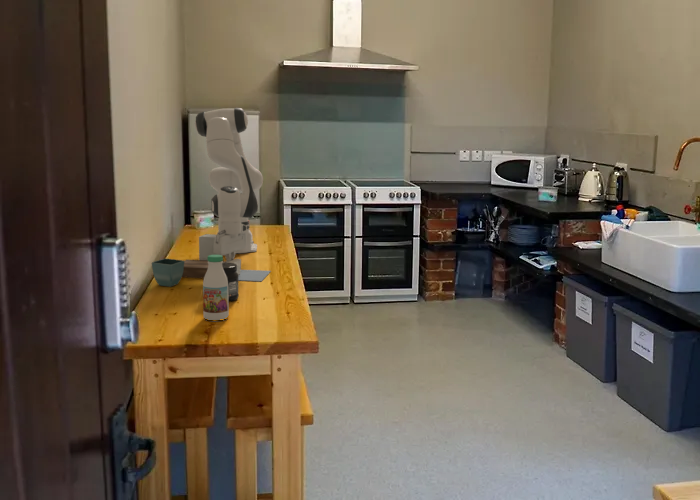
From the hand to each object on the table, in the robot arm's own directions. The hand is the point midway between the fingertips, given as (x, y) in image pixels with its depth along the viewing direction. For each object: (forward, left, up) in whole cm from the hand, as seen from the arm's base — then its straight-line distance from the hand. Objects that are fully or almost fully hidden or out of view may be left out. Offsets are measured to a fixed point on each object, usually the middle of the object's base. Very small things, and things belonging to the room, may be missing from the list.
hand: (230, 263), depth 271 cm
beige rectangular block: (+3, +1, -1) cm, 3 cm away
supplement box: (-17, -13, -5) cm, 22 cm away
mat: (0, +7, -5) cm, 8 cm away
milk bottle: (+59, +11, -5) cm, 60 cm away
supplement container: (+36, +7, -5) cm, 37 cm away
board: (0, -11, -5) cm, 12 cm away
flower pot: (+20, -18, -5) cm, 27 cm away
